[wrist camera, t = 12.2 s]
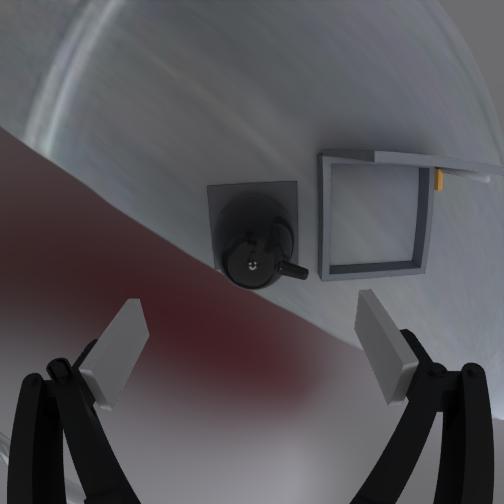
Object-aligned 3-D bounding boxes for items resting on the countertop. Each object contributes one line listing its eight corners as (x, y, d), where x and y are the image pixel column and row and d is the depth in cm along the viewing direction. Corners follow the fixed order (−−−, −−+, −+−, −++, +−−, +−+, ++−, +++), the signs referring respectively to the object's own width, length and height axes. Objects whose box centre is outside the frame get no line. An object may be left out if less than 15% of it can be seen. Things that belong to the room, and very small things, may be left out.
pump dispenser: (284, 267, 42) (297, 327, 28) (213, 255, 41) (190, 310, 27) (300, 197, 38) (324, 226, 24) (223, 184, 38) (201, 205, 24)
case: (317, 149, 36) (374, 150, 18) (431, 155, 36) (527, 172, 17) (317, 272, 42) (355, 361, 24) (422, 265, 42) (495, 331, 23)
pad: (207, 186, 38) (206, 186, 38) (296, 181, 38) (297, 181, 38) (215, 268, 43) (215, 269, 42) (297, 264, 42) (298, 265, 42)
